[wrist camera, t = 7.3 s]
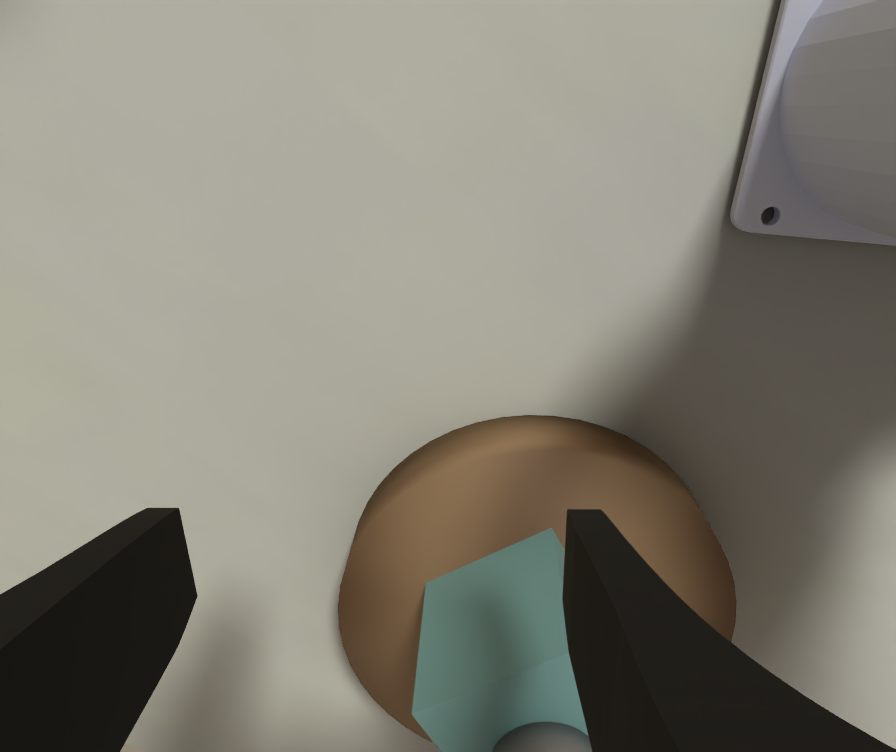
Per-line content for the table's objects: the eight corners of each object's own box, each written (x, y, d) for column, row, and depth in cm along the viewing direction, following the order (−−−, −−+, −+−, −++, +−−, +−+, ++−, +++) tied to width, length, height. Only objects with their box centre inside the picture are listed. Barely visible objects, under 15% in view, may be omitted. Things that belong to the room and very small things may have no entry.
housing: (551, 527, 20) (579, 684, 15) (631, 659, 22) (683, 844, 17) (426, 582, 21) (408, 749, 16) (512, 705, 23) (523, 893, 18)
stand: (751, 434, 22) (784, 473, 19) (668, 721, 26) (687, 780, 24) (357, 397, 22) (342, 432, 19) (347, 690, 27) (334, 746, 24)
